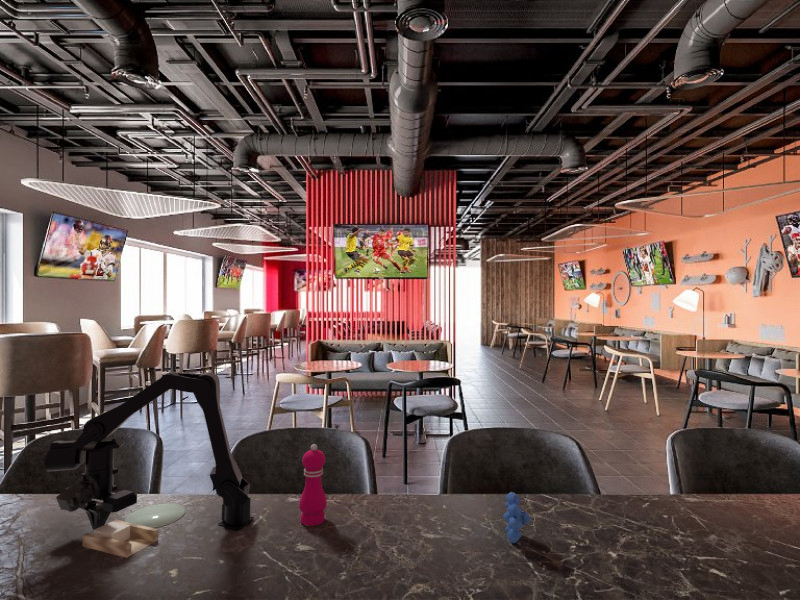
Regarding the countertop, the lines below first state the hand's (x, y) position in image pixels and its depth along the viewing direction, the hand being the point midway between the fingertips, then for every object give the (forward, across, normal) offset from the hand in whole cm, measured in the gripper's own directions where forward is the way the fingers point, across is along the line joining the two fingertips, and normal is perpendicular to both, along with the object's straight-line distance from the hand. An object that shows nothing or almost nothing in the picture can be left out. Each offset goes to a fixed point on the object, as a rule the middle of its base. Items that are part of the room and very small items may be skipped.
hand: (97, 532), depth 103 cm
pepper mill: (+2, +44, +26) cm, 51 cm away
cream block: (+1, +5, 0) cm, 5 cm away
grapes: (+2, +96, +33) cm, 101 cm away
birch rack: (+1, +8, 0) cm, 8 cm away
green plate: (+1, +4, +13) cm, 14 cm away
